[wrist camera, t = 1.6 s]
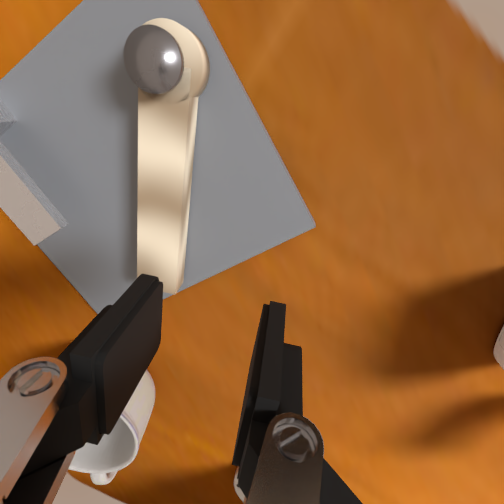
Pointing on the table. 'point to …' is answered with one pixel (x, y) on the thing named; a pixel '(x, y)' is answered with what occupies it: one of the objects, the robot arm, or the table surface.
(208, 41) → the slate board
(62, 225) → the keeper
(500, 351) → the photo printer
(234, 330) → the table surface
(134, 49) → the link
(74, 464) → the teacup
